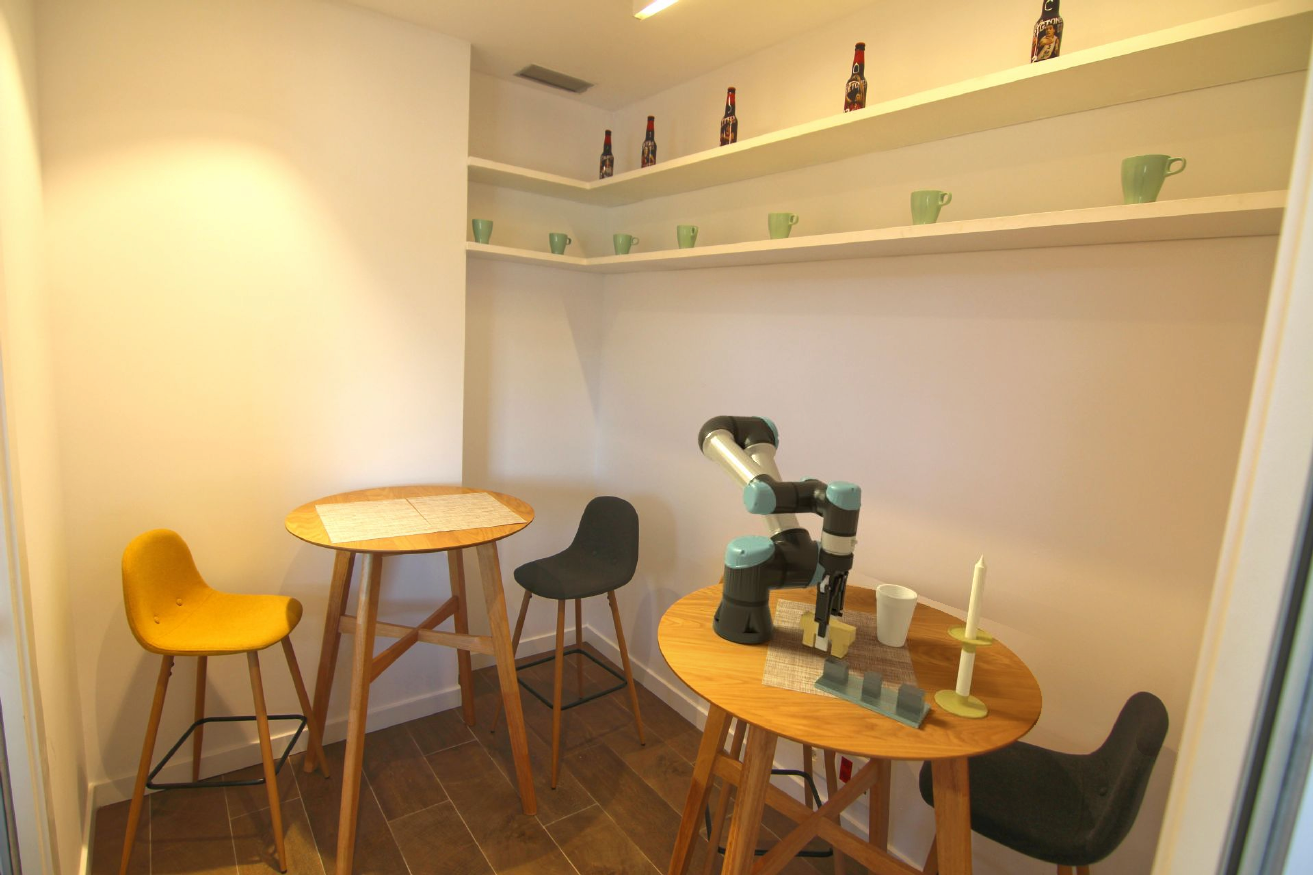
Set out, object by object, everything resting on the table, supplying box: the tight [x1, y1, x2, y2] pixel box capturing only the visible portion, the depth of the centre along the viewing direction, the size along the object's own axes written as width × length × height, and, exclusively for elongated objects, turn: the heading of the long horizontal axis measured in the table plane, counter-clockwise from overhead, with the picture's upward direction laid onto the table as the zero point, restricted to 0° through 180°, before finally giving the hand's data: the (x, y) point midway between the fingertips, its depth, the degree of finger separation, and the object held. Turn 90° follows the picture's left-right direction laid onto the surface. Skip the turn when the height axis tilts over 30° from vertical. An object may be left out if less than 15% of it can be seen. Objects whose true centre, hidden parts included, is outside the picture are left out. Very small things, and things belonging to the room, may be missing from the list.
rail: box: [813, 655, 931, 729], centre depth 127 cm, size 21×9×5 cm, turn 52°
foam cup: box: [875, 583, 918, 648], centre depth 153 cm, size 10×9×13 cm
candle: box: [934, 553, 995, 720], centre depth 125 cm, size 10×10×32 cm
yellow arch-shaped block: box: [798, 610, 857, 659], centre depth 144 cm, size 12×4×6 cm, turn 52°
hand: (825, 644), depth 144 cm, fingers closed on yellow arch-shaped block, 4 cm apart
